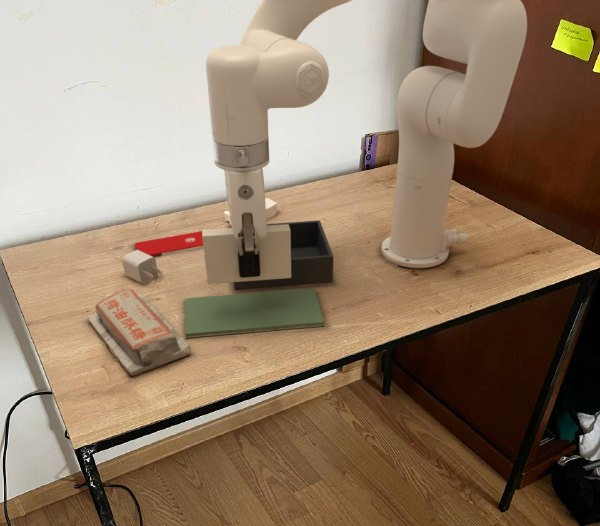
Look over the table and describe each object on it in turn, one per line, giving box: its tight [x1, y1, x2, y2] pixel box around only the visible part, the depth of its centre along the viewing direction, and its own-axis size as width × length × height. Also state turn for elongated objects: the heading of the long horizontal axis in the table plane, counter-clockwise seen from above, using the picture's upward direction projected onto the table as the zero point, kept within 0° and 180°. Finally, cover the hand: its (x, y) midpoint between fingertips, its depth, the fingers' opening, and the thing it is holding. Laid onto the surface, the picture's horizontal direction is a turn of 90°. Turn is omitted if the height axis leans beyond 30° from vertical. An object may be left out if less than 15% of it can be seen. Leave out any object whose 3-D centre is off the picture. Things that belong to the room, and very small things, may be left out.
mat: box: [184, 287, 325, 340], centre depth 101 cm, size 22×10×1 cm, turn 98°
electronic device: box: [134, 230, 204, 257], centre depth 119 cm, size 6×1×15 cm
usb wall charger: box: [121, 249, 163, 285], centre depth 109 cm, size 4×7×4 cm, turn 50°
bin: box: [227, 219, 334, 291], centre depth 111 cm, size 17×14×6 cm
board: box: [201, 224, 291, 285], centre depth 94 cm, size 13×2×8 cm, turn 98°
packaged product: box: [86, 288, 191, 377], centre depth 95 cm, size 18×5×10 cm
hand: (249, 270), depth 96 cm, fingers closed on board, 2 cm apart
